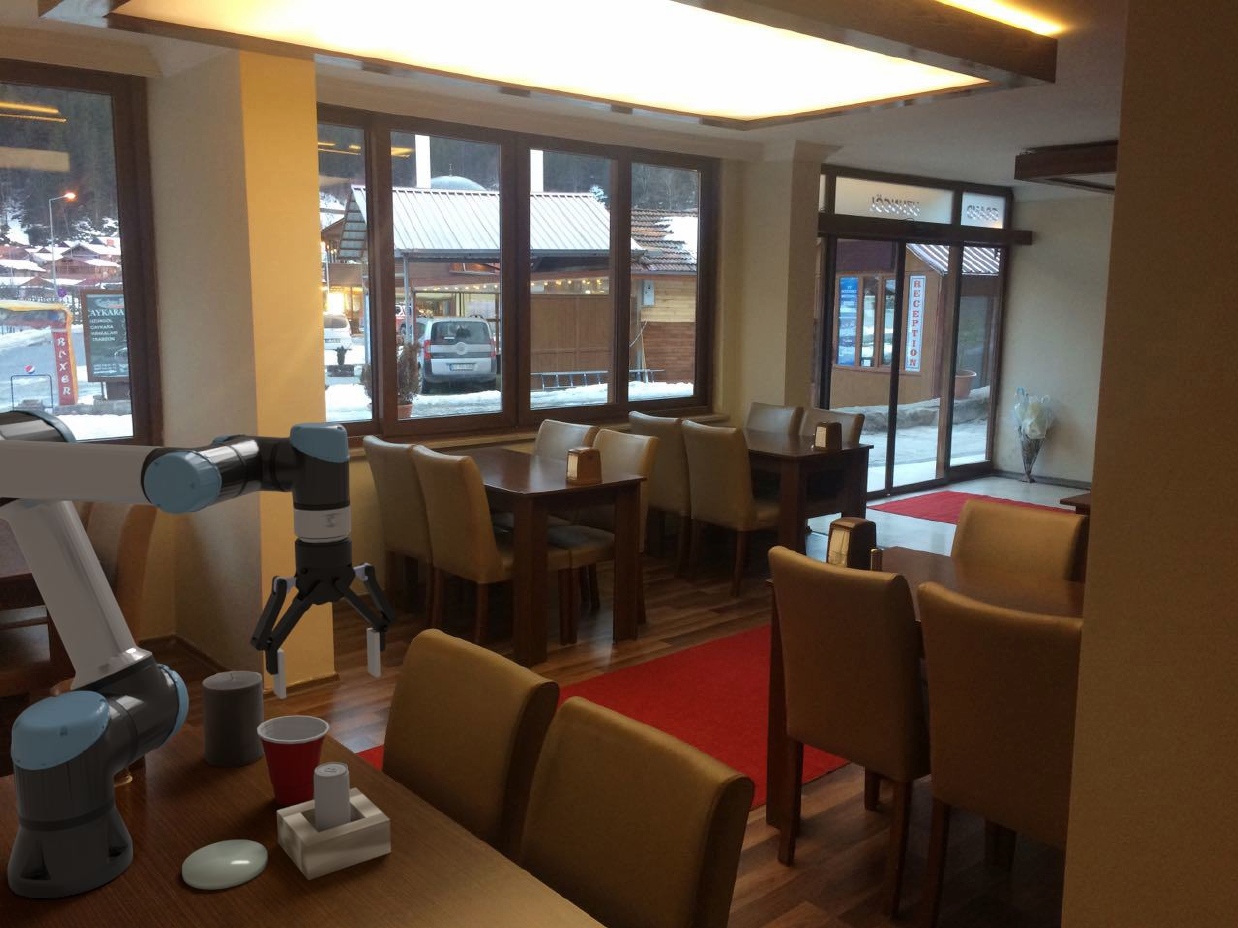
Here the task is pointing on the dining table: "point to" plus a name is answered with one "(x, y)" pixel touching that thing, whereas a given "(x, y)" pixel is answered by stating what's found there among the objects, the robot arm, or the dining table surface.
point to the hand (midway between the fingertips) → (328, 684)
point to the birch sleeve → (333, 837)
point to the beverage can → (331, 796)
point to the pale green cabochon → (224, 864)
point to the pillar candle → (232, 718)
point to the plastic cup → (293, 755)
